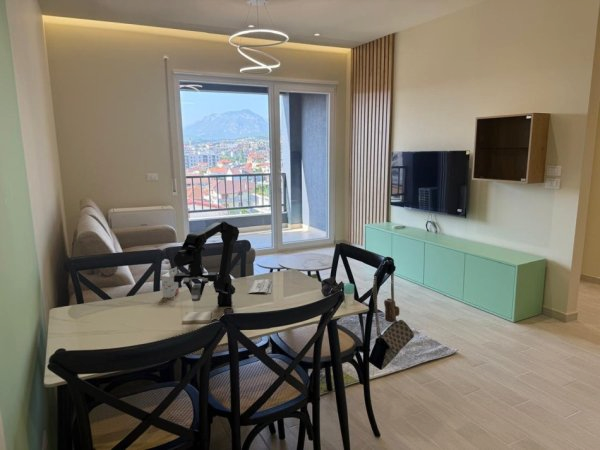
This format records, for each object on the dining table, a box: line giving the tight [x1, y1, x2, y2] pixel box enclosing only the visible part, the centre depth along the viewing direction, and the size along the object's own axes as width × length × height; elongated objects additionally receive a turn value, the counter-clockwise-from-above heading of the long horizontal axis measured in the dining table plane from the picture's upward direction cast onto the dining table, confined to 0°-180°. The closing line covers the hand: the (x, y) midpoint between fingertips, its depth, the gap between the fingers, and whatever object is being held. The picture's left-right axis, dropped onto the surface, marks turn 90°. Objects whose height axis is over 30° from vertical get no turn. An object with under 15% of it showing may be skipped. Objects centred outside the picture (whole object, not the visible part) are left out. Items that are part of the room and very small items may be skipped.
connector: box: [190, 283, 203, 302], centre depth 186 cm, size 4×12×5 cm, turn 5°
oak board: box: [181, 311, 213, 324], centre depth 189 cm, size 12×10×1 cm
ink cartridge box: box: [161, 266, 179, 299], centre depth 219 cm, size 9×5×15 cm, turn 168°
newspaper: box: [247, 278, 273, 295], centre depth 234 cm, size 23×12×2 cm, turn 178°
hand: (196, 295), depth 187 cm, fingers closed on connector, 4 cm apart
